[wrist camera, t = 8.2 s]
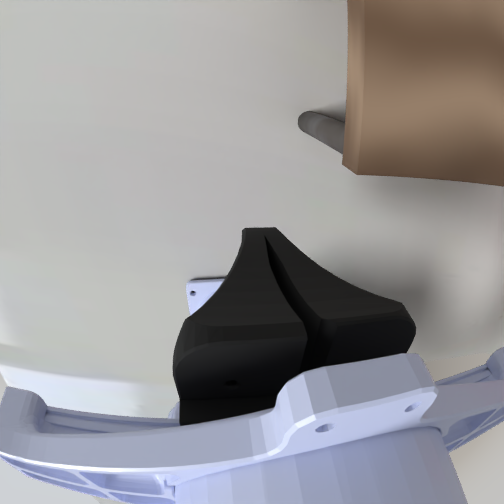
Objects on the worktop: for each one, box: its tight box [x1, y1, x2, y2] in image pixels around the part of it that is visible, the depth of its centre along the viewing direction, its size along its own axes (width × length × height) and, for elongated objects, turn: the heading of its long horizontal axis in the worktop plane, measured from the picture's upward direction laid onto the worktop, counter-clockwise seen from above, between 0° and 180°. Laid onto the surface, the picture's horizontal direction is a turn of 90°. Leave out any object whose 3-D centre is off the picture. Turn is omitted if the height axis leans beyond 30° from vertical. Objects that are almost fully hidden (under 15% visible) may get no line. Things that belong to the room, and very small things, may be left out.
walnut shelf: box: [298, 0, 504, 186], centre depth 13 cm, size 12×22×10 cm, turn 90°
